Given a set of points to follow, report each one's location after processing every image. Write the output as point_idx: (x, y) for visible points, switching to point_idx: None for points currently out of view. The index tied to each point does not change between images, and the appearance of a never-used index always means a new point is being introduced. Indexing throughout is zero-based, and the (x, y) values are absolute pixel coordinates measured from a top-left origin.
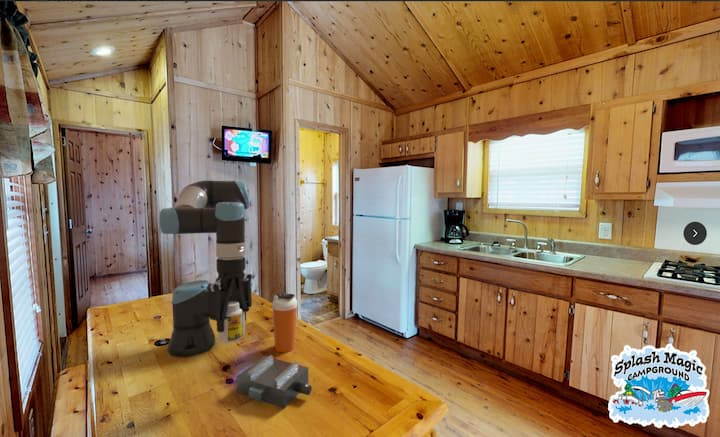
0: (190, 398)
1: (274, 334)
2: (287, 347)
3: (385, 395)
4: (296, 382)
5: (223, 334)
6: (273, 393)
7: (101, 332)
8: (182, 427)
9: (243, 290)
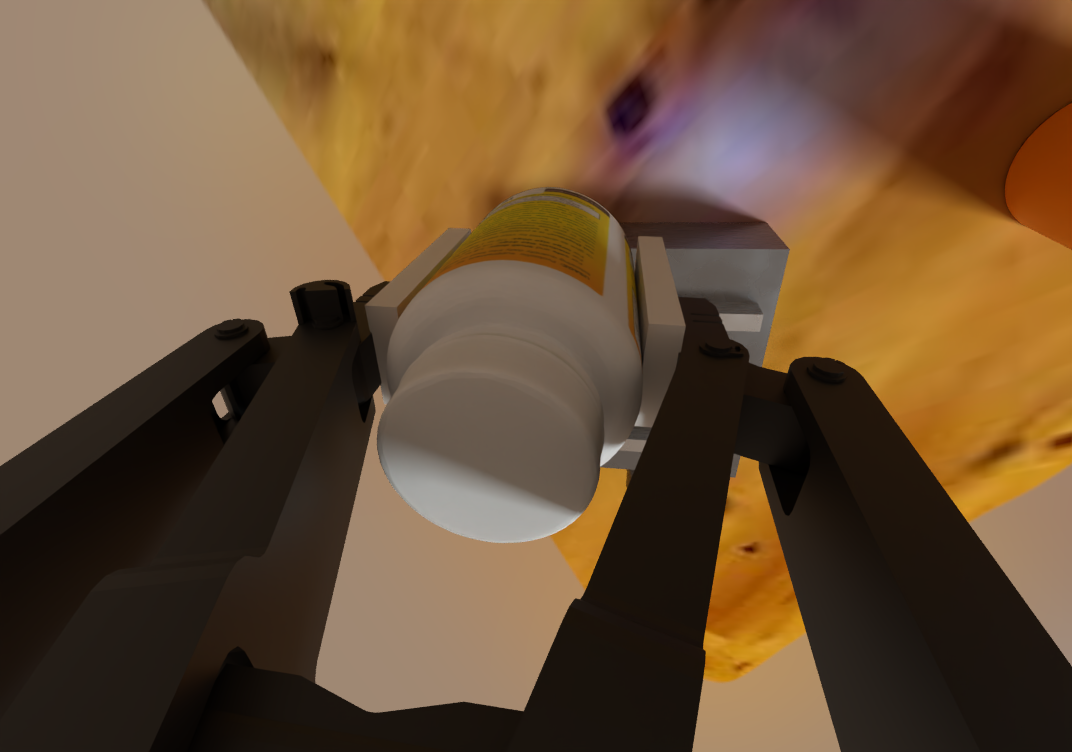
0: (440, 38)
1: None
2: (1031, 226)
3: (728, 610)
4: None
5: None
6: None
7: None
8: (335, 182)
9: (877, 613)
